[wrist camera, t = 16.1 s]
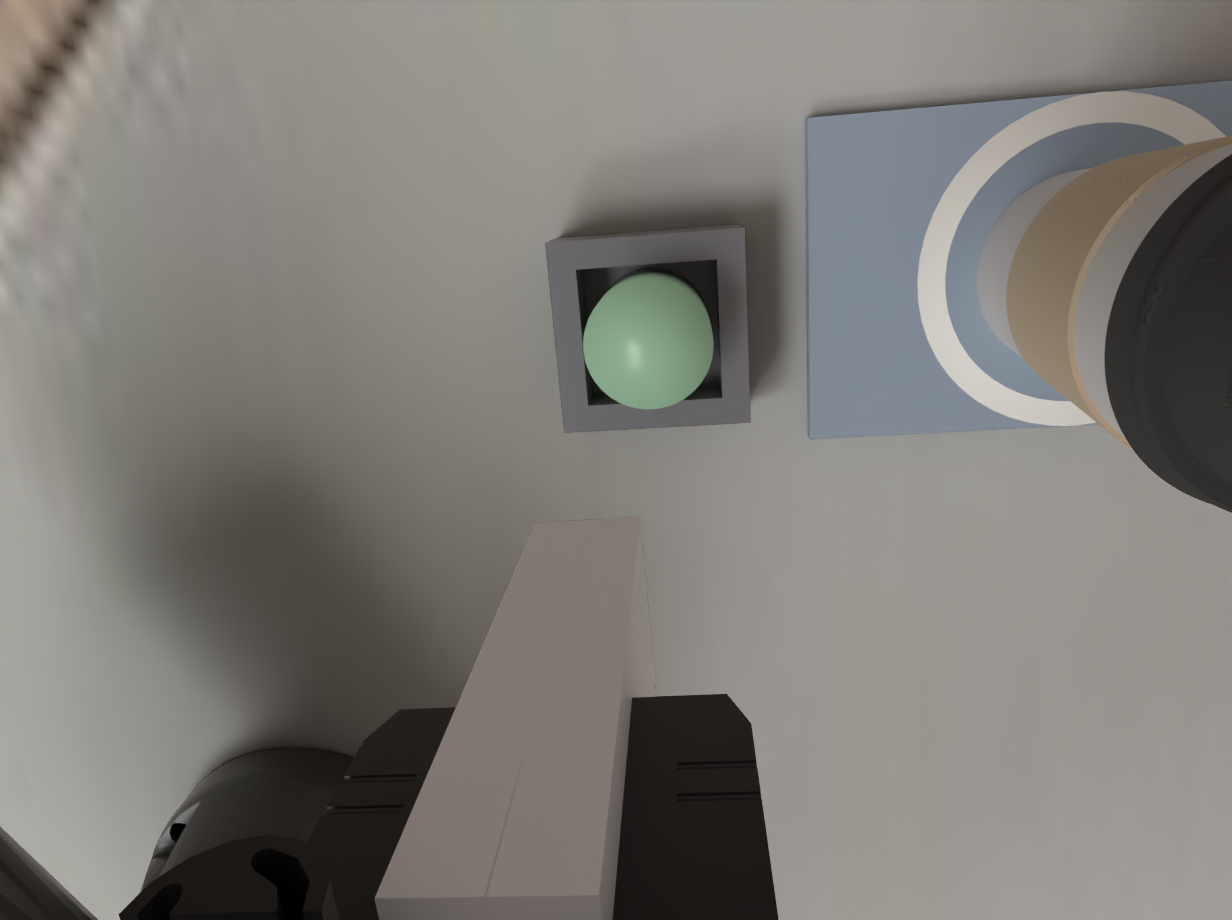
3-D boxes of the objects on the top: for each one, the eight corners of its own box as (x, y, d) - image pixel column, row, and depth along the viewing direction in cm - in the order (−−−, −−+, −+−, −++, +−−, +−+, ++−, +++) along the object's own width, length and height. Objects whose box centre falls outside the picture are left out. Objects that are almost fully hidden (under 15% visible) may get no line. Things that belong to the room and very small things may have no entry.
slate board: (807, 434, 34) (810, 439, 33) (805, 119, 30) (808, 117, 30) (1335, 407, 32) (1348, 411, 32) (1400, 66, 28) (1417, 63, 28)
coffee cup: (1239, 151, 29) (1772, 126, 15) (1158, 402, 32) (1539, 581, 18) (976, 125, 29) (1252, 75, 15) (920, 375, 32) (1107, 530, 18)
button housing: (573, 412, 34) (564, 432, 32) (556, 238, 32) (545, 243, 30) (744, 402, 34) (750, 422, 31) (739, 224, 32) (745, 227, 29)
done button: (599, 386, 33) (588, 412, 29) (589, 272, 31) (577, 284, 28) (712, 380, 32) (716, 405, 29) (707, 264, 31) (710, 275, 27)
